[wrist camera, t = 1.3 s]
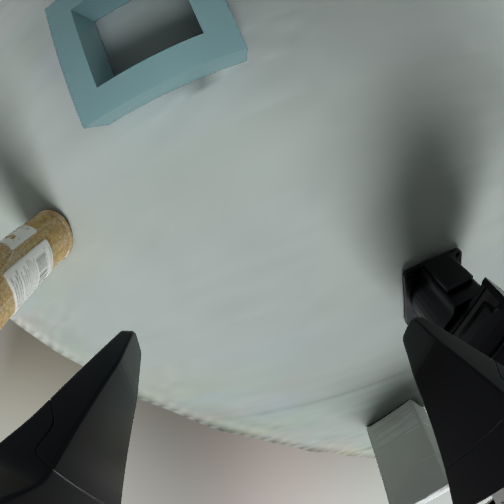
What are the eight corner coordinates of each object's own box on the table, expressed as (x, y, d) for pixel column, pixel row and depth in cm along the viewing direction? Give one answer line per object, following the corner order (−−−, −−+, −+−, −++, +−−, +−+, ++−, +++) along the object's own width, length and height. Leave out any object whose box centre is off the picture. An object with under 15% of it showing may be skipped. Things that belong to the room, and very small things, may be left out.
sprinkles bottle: (43, 197, 18) (-79, 285, 6) (82, 229, 20) (-28, 344, 8) (29, 239, 20) (-68, 333, 8) (65, 268, 21) (-21, 381, 9)
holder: (246, 60, 15) (247, 48, 12) (108, 124, 16) (83, 128, 13) (195, -46, 11) (187, -69, 8) (70, 19, 12) (45, 9, 9)
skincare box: (383, 433, 36) (407, 512, 22) (362, 426, 34) (387, 517, 20) (426, 405, 34) (460, 485, 20) (411, 395, 32) (449, 488, 17)
